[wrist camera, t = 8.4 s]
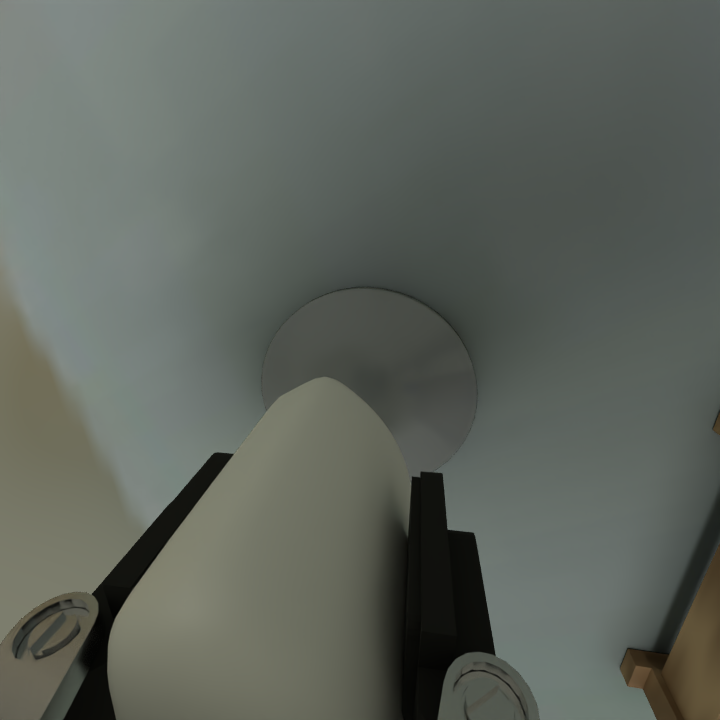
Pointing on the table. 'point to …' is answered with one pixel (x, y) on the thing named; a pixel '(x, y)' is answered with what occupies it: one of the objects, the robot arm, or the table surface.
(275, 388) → the coaster
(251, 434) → the eye dropper bottle
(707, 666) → the brown piece
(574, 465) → the table surface
